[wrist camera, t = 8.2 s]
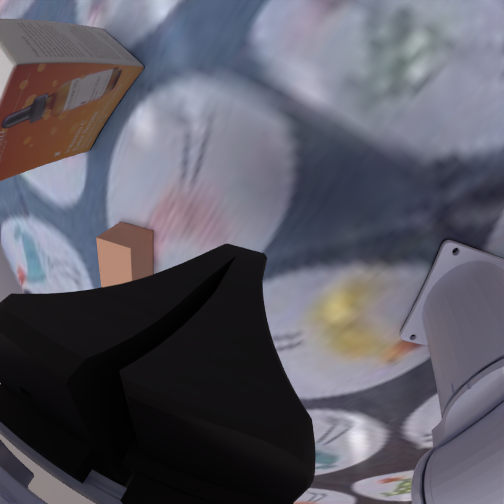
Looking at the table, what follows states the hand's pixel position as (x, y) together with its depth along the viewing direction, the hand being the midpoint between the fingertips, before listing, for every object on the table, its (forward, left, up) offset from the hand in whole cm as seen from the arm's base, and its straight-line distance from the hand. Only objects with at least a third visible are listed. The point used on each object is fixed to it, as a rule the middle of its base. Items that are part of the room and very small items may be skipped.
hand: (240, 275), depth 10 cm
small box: (+15, -5, -10) cm, 19 cm away
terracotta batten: (+11, +15, -10) cm, 21 cm away
